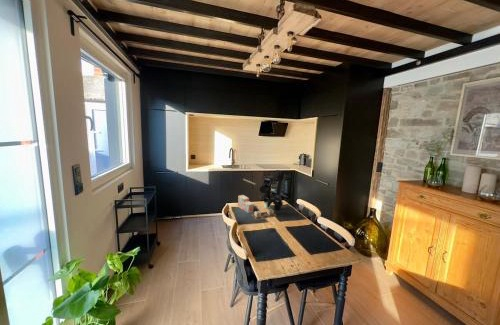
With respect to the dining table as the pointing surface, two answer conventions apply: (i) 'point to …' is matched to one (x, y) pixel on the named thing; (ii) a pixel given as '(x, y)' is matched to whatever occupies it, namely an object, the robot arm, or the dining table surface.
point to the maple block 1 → (257, 213)
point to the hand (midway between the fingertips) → (266, 206)
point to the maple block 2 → (270, 211)
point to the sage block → (266, 205)
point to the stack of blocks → (245, 204)
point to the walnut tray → (264, 215)
